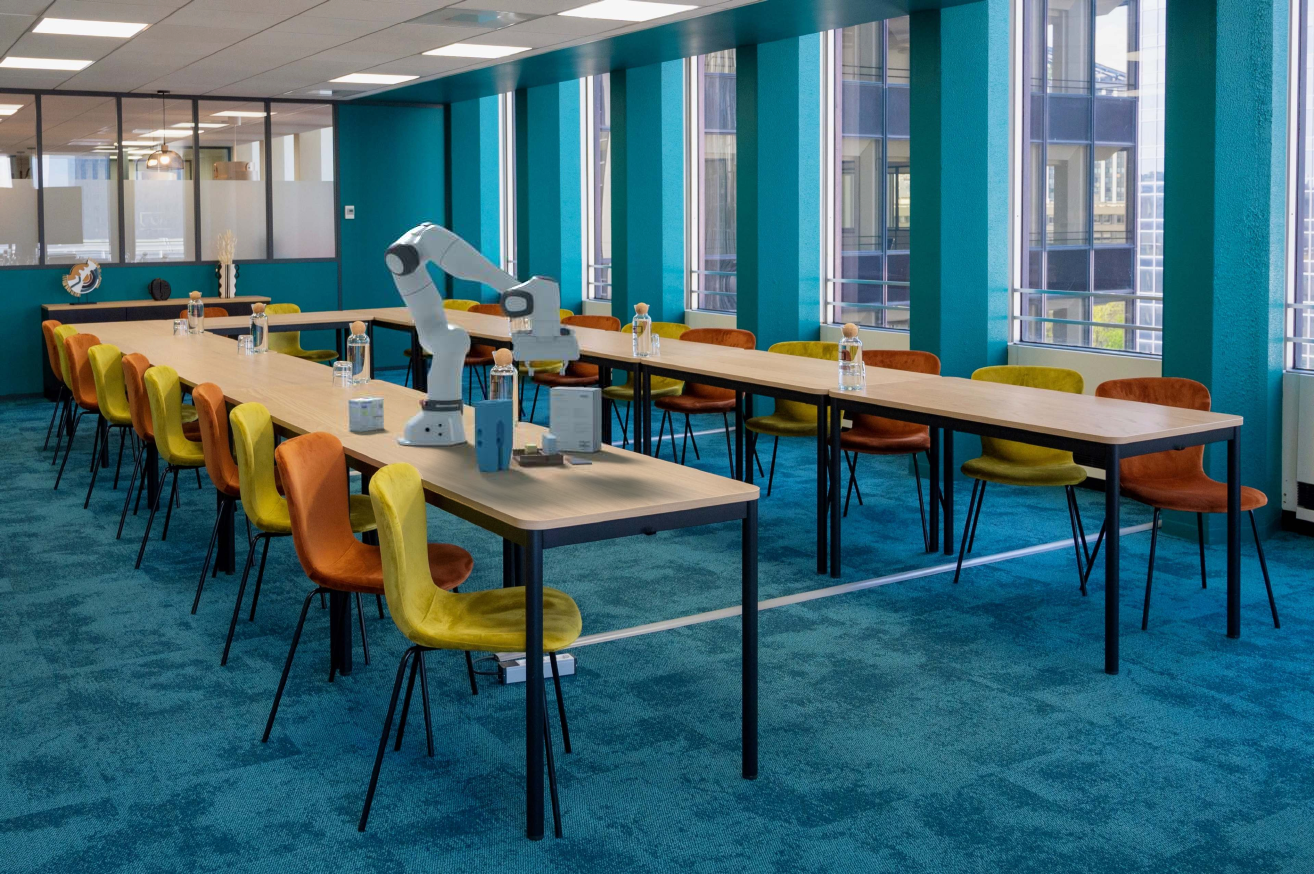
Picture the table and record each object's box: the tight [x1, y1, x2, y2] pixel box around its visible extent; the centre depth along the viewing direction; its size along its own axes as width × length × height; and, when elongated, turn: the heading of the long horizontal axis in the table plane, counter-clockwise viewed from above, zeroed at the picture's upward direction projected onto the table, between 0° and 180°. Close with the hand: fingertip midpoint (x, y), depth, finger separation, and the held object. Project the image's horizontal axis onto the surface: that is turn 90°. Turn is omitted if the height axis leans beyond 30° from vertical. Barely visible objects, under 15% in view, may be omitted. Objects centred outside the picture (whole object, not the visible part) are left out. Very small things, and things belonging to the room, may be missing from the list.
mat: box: [564, 456, 593, 466], centre depth 380 cm, size 6×10×1 cm, turn 17°
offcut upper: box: [524, 443, 538, 452], centre depth 380 cm, size 3×4×2 cm
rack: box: [511, 447, 565, 467], centre depth 379 cm, size 13×13×3 cm
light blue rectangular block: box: [541, 433, 558, 455], centre depth 379 cm, size 3×9×6 cm, turn 17°
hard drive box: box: [548, 386, 603, 454], centre depth 400 cm, size 16×8×20 cm, turn 71°
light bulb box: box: [348, 396, 385, 432], centre depth 437 cm, size 11×7×11 cm, turn 144°
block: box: [474, 398, 514, 473], centre depth 364 cm, size 12×5×20 cm, turn 144°
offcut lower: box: [525, 450, 537, 455], centre depth 381 cm, size 3×4×2 cm
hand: (546, 375), depth 382 cm, fingers open, 8 cm apart
